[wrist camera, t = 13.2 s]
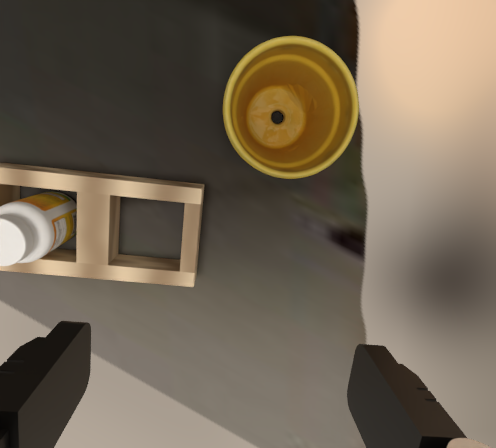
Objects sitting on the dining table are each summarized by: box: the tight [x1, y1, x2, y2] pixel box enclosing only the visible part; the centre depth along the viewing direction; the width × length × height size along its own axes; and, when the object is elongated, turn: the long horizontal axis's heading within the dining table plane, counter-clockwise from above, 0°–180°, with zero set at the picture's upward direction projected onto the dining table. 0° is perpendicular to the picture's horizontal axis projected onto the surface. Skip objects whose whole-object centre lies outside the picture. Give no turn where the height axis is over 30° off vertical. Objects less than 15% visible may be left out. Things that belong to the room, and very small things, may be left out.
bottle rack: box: [0, 163, 204, 287], centre depth 36 cm, size 20×10×4 cm, turn 83°
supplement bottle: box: [0, 191, 77, 266], centre depth 33 cm, size 5×5×10 cm
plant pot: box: [223, 36, 359, 179], centre depth 32 cm, size 10×10×10 cm
